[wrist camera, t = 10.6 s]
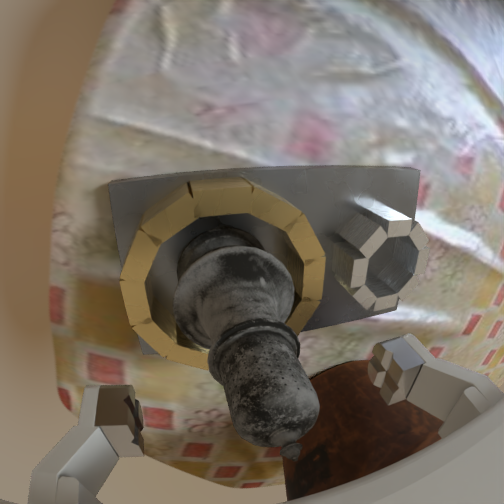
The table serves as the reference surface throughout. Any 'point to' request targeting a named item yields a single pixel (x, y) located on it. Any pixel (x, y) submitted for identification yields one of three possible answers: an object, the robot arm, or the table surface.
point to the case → (355, 432)
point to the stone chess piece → (247, 335)
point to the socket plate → (272, 241)
